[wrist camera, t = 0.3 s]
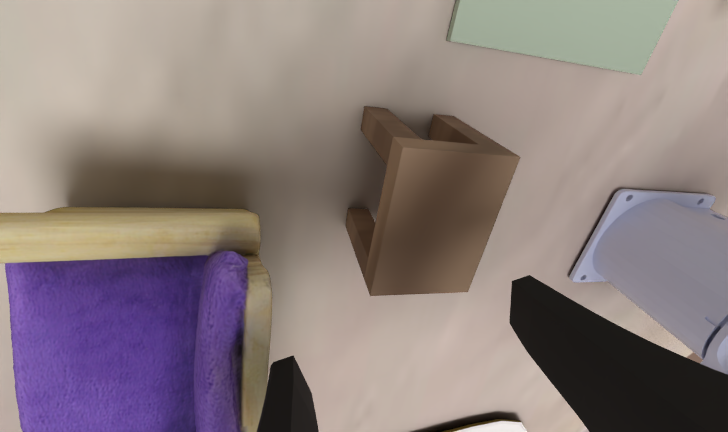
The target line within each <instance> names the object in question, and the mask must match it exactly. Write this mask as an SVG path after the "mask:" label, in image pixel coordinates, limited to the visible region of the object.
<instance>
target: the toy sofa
mask: <svg viewBox="0 0 728 432" xmlns="http://www.w3.org/2000/svg"><path fill="white" fill-rule="evenodd" d="M260 238H261V234H260V220H259V216H258V215H257V214H255V213H253V212H249V211H248V210H245V209H207V208H122V207H63V208H56V209H53V210H50V211H47V212H45V213H0V263H5V270H6V277H7V283H8V293H9V304H10V322H11V331H12V332H11V339H12V347H13V363H14V365H13V369H14V377H15V390H16V398H17V404H18V409H19V418H20V423H21V429H22V431H23V432H257V428H258V424H259V421H260V417H261V413H262V408H263V404H264V400H265V395H266V391H267V379H268V360H269V349H270V336H271V321H272V289H271V281H270V276H269V273H268V271H267V270H266V269H265V268H264V267H263V266H262V264H261V261H260V258H259V249H260Z"/></svg>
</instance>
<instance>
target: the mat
mask: <svg viewBox="0 0 728 432" xmlns="http://www.w3.org/2000/svg"><path fill="white" fill-rule="evenodd" d="M677 2H678V0H456V3H455V7H454V12H453V16H452V20H451V24H450V28H449V32H448V36H447V40H448V41H453V42H459V43H464V44H470V45H475V46H481V47H487V48H492V49H498V50H503V51H509V52H515V53H520V54H526V55H531V56H537V57H543V58H548V59H554V60H559V61H565V62H571V63H576V64H582V65H587V66H593V67H599V68H604V69H610V70H616V71H621V72H627V73H632V74H638V75H641V74H642V72H643V70H644V68H645V66H646V64H647V62H648V60H649V58H650V56H651V54H652V52H653V50H654V48H655V46H656V44H657V42H658V40H659V38H660V36H661V34H662V32H663V30H664V28H665V26H666V24H667V22H668V20H669V18H670V16H671V14H672V12H673V10H674V8H675V6H676V4H677Z"/></svg>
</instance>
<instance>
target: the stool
mask: <svg viewBox="0 0 728 432" xmlns="http://www.w3.org/2000/svg"><path fill="white" fill-rule="evenodd" d="M361 131H362V132H363V134H364V135H365V136H366V138H367V139H368V140H369V142H370V143H371V144H372V146H373V147H374V149H375V150H376V151H377V153H378V154H379V155H380V157H381V158H382V159H383V161H384V162H385V163H386V165H387V169H386V174H385V179H384V184H383V189H382V194H381V199H380V203H379V208H378V213H377V218H376V223H375V221H374V219H373V217H372V215H371V213H370V211H369V209H357V208H348V214H347V220H346V229H347V232H348V234H349V237H350V240H351V243H352V246H353V248H354V251H355V254H356V257H357V260H358V263H359V265H360V268H361V271H362V274H363V277H364V280H365V282H366V285H367V288H368V291H369V294H370V296H379V295H404V294H429V293H455V292H468V290H469V288H470V285H471V283H472V280H473V277H474V275H475V272H476V270H477V267H478V265H479V262H480V259H481V257H482V254H483V252H484V249H485V247H486V244H487V241H488V239H489V236H490V234H491V231H492V229H493V226H494V223H495V221H496V218H497V216H498V213H499V211H500V208H501V205H502V203H503V200H504V198H505V195H506V193H507V190H508V187H509V185H510V182H511V180H512V177H513V175H514V172H515V169H516V167H517V164H518V162H519V159H520V157H519V156H518V155H516V154H514V153H513V152H511V151H509V150H508V149H506V148H505V147H503V146H501V145H500V144H498V143H496V142H495V141H493V140H492V139H490V138H488V137H487V136H485V135H483V134H482V133H480V132H479V131H477V130H475V129H474V128H472V127H470V126H469V125H467V124H466V123H464V122H462V121H461V120H459V119H457V118H456V117H454V116H446V115H438V114H434V115H433V119H432V123H431V127H430V131H429V135H428V136H429V137H430V138H431V139H432V140H423V139H421V138H419V137H418V136H417V135H416V134H415V133H414V132H413V131H412V130H410V129H409V128H408V127H407V126H406V125H405V124H404V123H403V122H401V121H400V120H399V119H398V118H397V117H396V116H395V115H394V114H393V113H391V112H390V111H389V110H388V109H385V108H376V107H367V106H364V113H363V119H362V125H361Z"/></svg>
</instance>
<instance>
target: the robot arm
mask: <svg viewBox="0 0 728 432" xmlns="http://www.w3.org/2000/svg"><path fill="white" fill-rule="evenodd" d="M715 199H716V198H715V196H713V195H711V194H701V193H684V192H667V191H650V190H633V189H620V190H618V191H617V192H616V193H615V194H614V196H613V198H612V200H611V201H610V203H609V205H608V207H607V209H606V211H605V212H604V214H603V216H602V218H601V220H600V221H599V223H598V225H597V227H596V229H595V231H594V232H593V234H592V236H591V238H590V240H589V241H588V243H587V245H586V247H585V249H584V251H583V252H582V254H581V256H580V258H579V260H578V261H577V263H576V265H575V267H574V269H573V270H572V272H571V274H570V279H571V280H572V281H573V282H603V281H608V282H609V283H610V284H611V285H613V286H614V287H615V288H616V289H618V290H619V291H620V292H621V293H622V294H624V295H625V296H626V297H627V298H629V299H630V300H631V301H632V302H633V303H635V304H636V305H637V306H638V307H639V308H641V309H642V310H643V311H644V312H646V313H647V314H648V315H649V316H650V317H652V318H653V319H654V320H655V321H657V322H658V323H659V324H660V325H661V326H663V327H664V328H665V329H666V330H667V331H669V332H670V333H671V334H672V335H674V336H675V337H676V338H677V339H678V340H680V341H681V342H682V343H683V344H685V345H686V346H687V347H688V348H689V349H691V350H692V351H693V352H694V353H695V354H697V355H698V356H699V357H700V358H702V359H703V361H702V362H701V363H697V362H695V361H692V360H690V359H688V358H686V357H683V356H681V355H679V354H676V353H674V352H672V351H670V350H667V349H665V348H663V347H661V346H658V345H656V344H654V343H652V342H650V341H648V340H646V339H644V338H642V337H640V336H638V335H636V334H634V333H632V332H630V331H628V330H626V329H624V328H622V327H620V326H618V325H616V324H614V323H612V322H610V321H608V320H607V319H605V318H603V317H601V316H599V315H597V314H596V313H594V312H592V311H590V310H588V309H587V308H585V307H583V306H581V305H580V304H578V303H576V302H574V301H573V300H571V299H569V298H567V297H566V296H564V295H562V294H561V293H559V292H557V291H555V290H554V289H552V288H550V287H549V286H547V285H545V284H544V283H542V282H540V281H538V280H537V279H535V278H533V277H532V276H530V275H529V276H526V277H523V278H520V279H517V280H514V281H512V292H511V308H510V325H511V326H512V328H513V330H514V331H515V333H516V335H517V336H518V338H519V339H520V341H521V343H522V344H523V346H524V347H525V349H526V350H527V352H528V353H529V355H530V356H531V357H532V358H533V360H534V361H535V362H536V364H537V365H538V366H539V367H540V369H541V370H542V371H543V372H544V374H545V375H546V376H547V378H548V379H549V380H550V381H551V383H552V384H553V385H554V386H555V388H556V389H557V390H558V391H559V393H560V394H561V395H562V396H563V398H564V399H565V400H566V401H567V403H568V404H569V405H570V406H571V408H572V409H573V410H574V411H575V413H576V414H577V415H578V417H579V418H580V419H581V421H582V422H583V423H584V425H585V426H586V427H587V429H588V430H589V432H728V217H725V216H723V215H721V214H719V213H717V212H715V211H713V210H711V209H710V207H711V206H712V205H713V203H714V202H715ZM257 432H318V425H317V419H316V414H315V409H314V403H313V398H312V393H311V391H310V389H309V387H308V385H307V383H306V381H305V379H304V376H303V374H302V372H301V370H300V368H299V366H298V364H297V362H296V360H295V358H294V356H290V357H287V358H284V359H282V360H279V361H276V362H273V364H272V365H271V368H270V375H269V380H268V386H267V391H266V395H265V400H264V404H263V408H262V413H261V417H260V421H259V424H258V428H257Z"/></svg>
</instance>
